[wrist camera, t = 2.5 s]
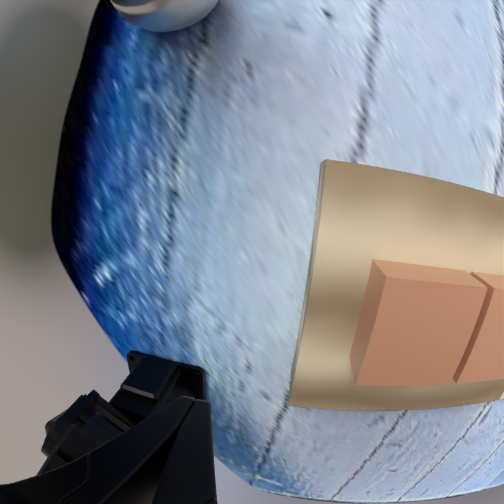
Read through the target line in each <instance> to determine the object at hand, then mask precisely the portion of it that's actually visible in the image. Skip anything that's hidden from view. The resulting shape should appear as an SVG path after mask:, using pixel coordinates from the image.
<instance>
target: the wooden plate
mask: <svg viewBox="0 0 504 504" xmlns="http://www.w3.org/2000/svg"><path fill="white" fill-rule="evenodd" d="M372 259H378V260H386V261H394V262H402V263H410V264H418V265H426V266H434V267H442V268H450V269H457V270H464V271H466V272H467V273H469V274H470V273H471V271H473V272H481V273H488V274H496V275H503V276H504V197H501V196H497V195H494V194H491V193H487V192H484V191H480V190H477V189H473V188H470V187H466V186H462V185H458V184H455V183H451V182H446V181H442V180H438V179H434V178H429V177H425V176H420V175H416V174H411V173H406V172H401V171H396V170H391V169H385V168H380V167H374V166H368V165H362V164H355V163H348V162H342V161H334V160H327V159H326V160H324V161H322V162H321V166H320V177H319V187H318V197H317V206H316V215H315V224H314V232H313V240H312V248H311V255H310V263H309V270H308V277H307V284H306V290H305V297H304V303H303V310H302V316H301V322H300V328H299V333H298V339H297V345H296V350H295V356H294V361H293V366H292V371H291V382H290V393H289V403H288V406H295V407H306V408H318V409H333V410H357V411H395V410H419V409H433V408H444V407H454V406H462V405H469V404H476V403H483V402H489V401H494V400H499V399H500V397H501V395H502V394H503V392H504V379H498V380H490V381H482V382H472V383H461V384H456V383H455V381H454V379H453V378H452V380H451V382H450V384H448V385H428V386H364V385H355V382H354V377H353V372H352V367H351V362H350V357H349V355H350V352H351V348H352V345H353V341H354V337H355V334H356V330H357V326H358V322H359V318H360V314H361V310H362V306H363V301H364V297H365V293H366V288H367V283H368V279H369V274H370V269H371V263H372Z"/></svg>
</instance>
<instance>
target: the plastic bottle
mask: <svg viewBox="0 0 504 504" xmlns="http://www.w3.org/2000/svg"><path fill="white" fill-rule="evenodd" d="M110 1H111V3H112V4H113V5H114V7H115V8H116V9H117V10H118V11H119V12H120V13H121V14H122V15H123V17H124V18H125V19H126V20H127V21H128V22H130V23H132V24H133V25H136V26H138V27H141V28H143V29H146V30H149V31H152V32H170V31H175V30H179V29H183V28H186V27H189V26H191V25H193V24H195V23H197V22H198V21H200V20H201V19H203V18H204V17H205V16H206V15H208V14H209V13H210V12H211V10H212V9H213V8H214V7H215V5H216V4H217V3H218V1H219V0H110Z"/></svg>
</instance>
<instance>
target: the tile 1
mask: <svg viewBox="0 0 504 504" xmlns="http://www.w3.org/2000/svg"><path fill="white" fill-rule="evenodd" d="M487 288H488V287H486V286H485V285H484V284H482V283H481V282H480V281H478V280H477V279H476V278H474V277H473V276H471V275H470V274H469V273H467V272H466V271H464V270H457V269H450V268H442V267H434V266H426V265H418V264H410V263H402V262H394V261H386V260H378V259H372V263H371V269H370V274H369V279H368V283H367V288H366V293H365V297H364V301H363V306H362V310H361V314H360V318H359V322H358V326H357V330H356V334H355V337H354V341H353V345H352V348H351V352H350V355H349V357H350V362H351V367H352V372H353V377H354V382H355V385H364V386H428V385H448V384H450V382H451V380H452V378H453V376H454V374H455V372H456V370H457V368H458V365H459V363H460V361H461V359H462V356H463V354H464V352H465V350H466V347H467V345H468V342H469V340H470V337H471V335H472V332H473V330H474V327H475V324H476V322H477V319H478V316H479V313H480V310H481V307H482V304H483V301H484V298H485V295H486V291H487Z"/></svg>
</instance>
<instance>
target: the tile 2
mask: <svg viewBox="0 0 504 504" xmlns="http://www.w3.org/2000/svg"><path fill="white" fill-rule="evenodd" d="M470 275H471V276H473V277H474V278H476V279H477V280H478V281H480V282H481V283H482V284H484V285H485V286H486V287H488V288H487V291H486V295H485V298H484V301H483V304H482V307H481V310H480V313H479V316H478V319H477V322H476V324H475V327H474V330H473V332H472V335H471V337H470V340H469V342H468V345H467V347H466V350H465V352H464V354H463V356H462V359H461V361H460V363H459V365H458V368H457V370H456V372H455V374H454V376H453V379H454V381H455V383H456V384H461V383H472V382H482V381H490V380H498V379H504V276H503V275H496V274H488V273H481V272H473V271H471V273H470Z"/></svg>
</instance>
